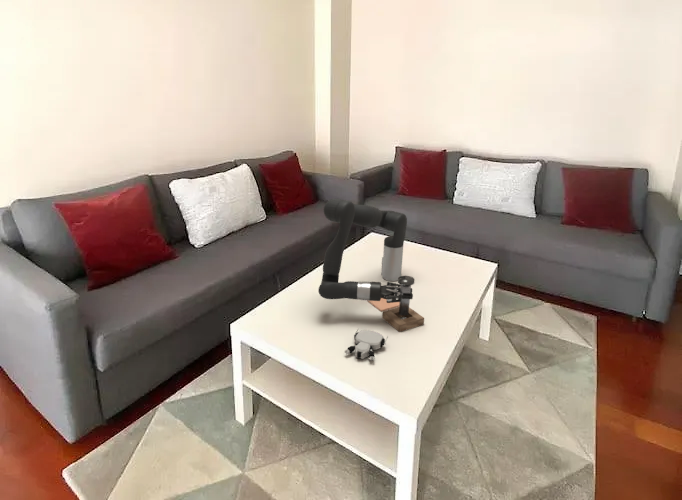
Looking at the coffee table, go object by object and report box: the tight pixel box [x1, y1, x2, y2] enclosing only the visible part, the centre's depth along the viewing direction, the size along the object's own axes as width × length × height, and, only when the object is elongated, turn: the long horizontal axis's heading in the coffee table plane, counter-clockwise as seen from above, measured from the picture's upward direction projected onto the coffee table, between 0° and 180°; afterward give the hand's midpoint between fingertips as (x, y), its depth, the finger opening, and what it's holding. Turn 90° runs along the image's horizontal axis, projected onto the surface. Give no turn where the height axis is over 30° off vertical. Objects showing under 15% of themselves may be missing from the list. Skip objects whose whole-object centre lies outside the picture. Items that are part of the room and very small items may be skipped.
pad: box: [366, 298, 399, 313], centre depth 201 cm, size 11×11×1 cm
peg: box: [397, 275, 415, 316], centre depth 183 cm, size 6×6×15 cm
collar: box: [381, 306, 425, 333], centre depth 187 cm, size 12×12×3 cm
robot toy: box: [344, 328, 389, 361], centre depth 168 cm, size 12×4×15 cm
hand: (412, 293), depth 183 cm, fingers closed on peg, 4 cm apart
